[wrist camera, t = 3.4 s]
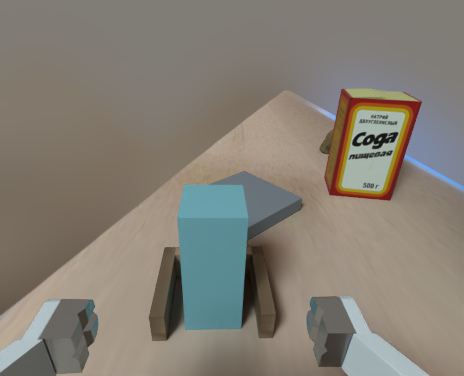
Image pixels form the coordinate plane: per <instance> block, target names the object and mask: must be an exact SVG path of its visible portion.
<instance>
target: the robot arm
mask: <svg viewBox="0 0 464 376" xmlns="http://www.w3.org/2000/svg"><path fill="white" fill-rule="evenodd" d="M310 307H311V310H310V311H309V312H308V314H307V330H308V334H309V337H310V339H311V340H312V341H313V342H314V343H315V344H314V348H313V350H314V354H315V357H316V360H317V363H318V366H319V367H342V369H343V370H344V371H345V373H346V374H347V375H348V376H429V375H428V374H427V373H426V372H424V371H423V370H422V369H421V368H419V367H418V366H417V365H415V364H414V363H413V362H412V361H410V360H409V359H408V358H406V357H405V356H404V355H403V354H401V353H400V352H399V351H398V350H396V349H395V348H394V347H392V346H391V345H390V344H389V343H387V342H386V341H385V340H384V339H382V338H381V337H380V336H378V335H377V334H376V333H371V331H370V329H369V327H368V325H367V323H366V321H365V319H364V317H363V316H362V314H361V312H360V310H359V308H358V306H357V304H356V302H355V300H354V298H352V297H351V296H338V297H337V296H330V297H312V298H311V300H310ZM94 308H95V305H94V301H93V300H88V299H48V300H47V301H46V302H45V303H44V304H43V306H42V308H41V309H40V311H39V312H38V314H37V316H36V317H35V319H34V320H33V322H32V323H31V325H30V327H29V328H28V330H27V331H26V333H25V335H24V336H23V338H22V339H21V340H16V341H15V342H13V343H12V344H10V345H9V346H8V347H6V348H5V349H3V350H2V351H1V352H0V376H56V374H66V373H82V371H83V369H84V366H85V364H86V361H87V359H88V356H89V351H88V347H89V346H90V345H91V344H92V343H93V342H94V340H95V338H96V335H97V330H98V317H97V315H96V314H95V313H94V312H93V310H94Z"/></svg>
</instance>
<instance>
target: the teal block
mask: <svg viewBox="0 0 464 376" xmlns="http://www.w3.org/2000/svg"><path fill="white" fill-rule="evenodd" d="M178 231H179V246H180V260H181V275H182V290H183V304H184V319H185V330H201V329H241V322H242V307H243V292H244V277H245V261H246V246H247V231H248V213H247V207H246V201H245V195H244V189H243V185H184V188H183V193H182V198H181V203H180V208H179V213H178Z"/></svg>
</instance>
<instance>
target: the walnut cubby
mask: <svg viewBox="0 0 464 376" xmlns="http://www.w3.org/2000/svg"><path fill="white" fill-rule="evenodd" d="M245 275H250V276H251V284H252V291H253V298H254V305H255V312H256V320H257V327H258V334H259V338H273V332H274V325H275V318H276V312H275V307H274V302H273V298H272V293H271V288H270V283H269V278H268V274H267V269H266V264H265V259H264V254H263V250H262V247H246V261H245ZM177 276H182V275H181V260H180V247H165V249H164V253H163V257H162V262H161V266H160V271H159V275H158V279H157V284H156V288H155V293H154V297H153V301H152V306H151V310H150V315H149V321H150V327H151V334H152V341H161V340H167V335H168V328H169V322H170V315H171V309H172V302H173V296H174V289H175V283H176V277H177Z"/></svg>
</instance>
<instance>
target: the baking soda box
mask: <svg viewBox="0 0 464 376" xmlns="http://www.w3.org/2000/svg"><path fill="white" fill-rule="evenodd" d="M421 103H422V101H420V100H418V99H416V98H414V97H412V96H410V95H409V94H407V93H404V92H392V91H377V90H375V89H342V90H341V95H340V100H339V105H338V110H337V115H336V120H335V125H334V131H333V136H332V141H331V146H330V151H329V156H328V162H327V167H326V172H325V177H324V178H325V181H326V185H327V188H328V191H329V195H336V196H347V197H358V198H369V199H380V200H390V199H391V196H392V193H393V190H394V187H395V184H396V181H397V177H398V174H399V171H400V168H401V165H402V162H403V159H404V156H405V152H406V149H407V146H408V143H409V140H410V137H411V134H412V131H413V128H414V124H415V122H416V118H417V115H418V112H419V109H420V106H421Z"/></svg>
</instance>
